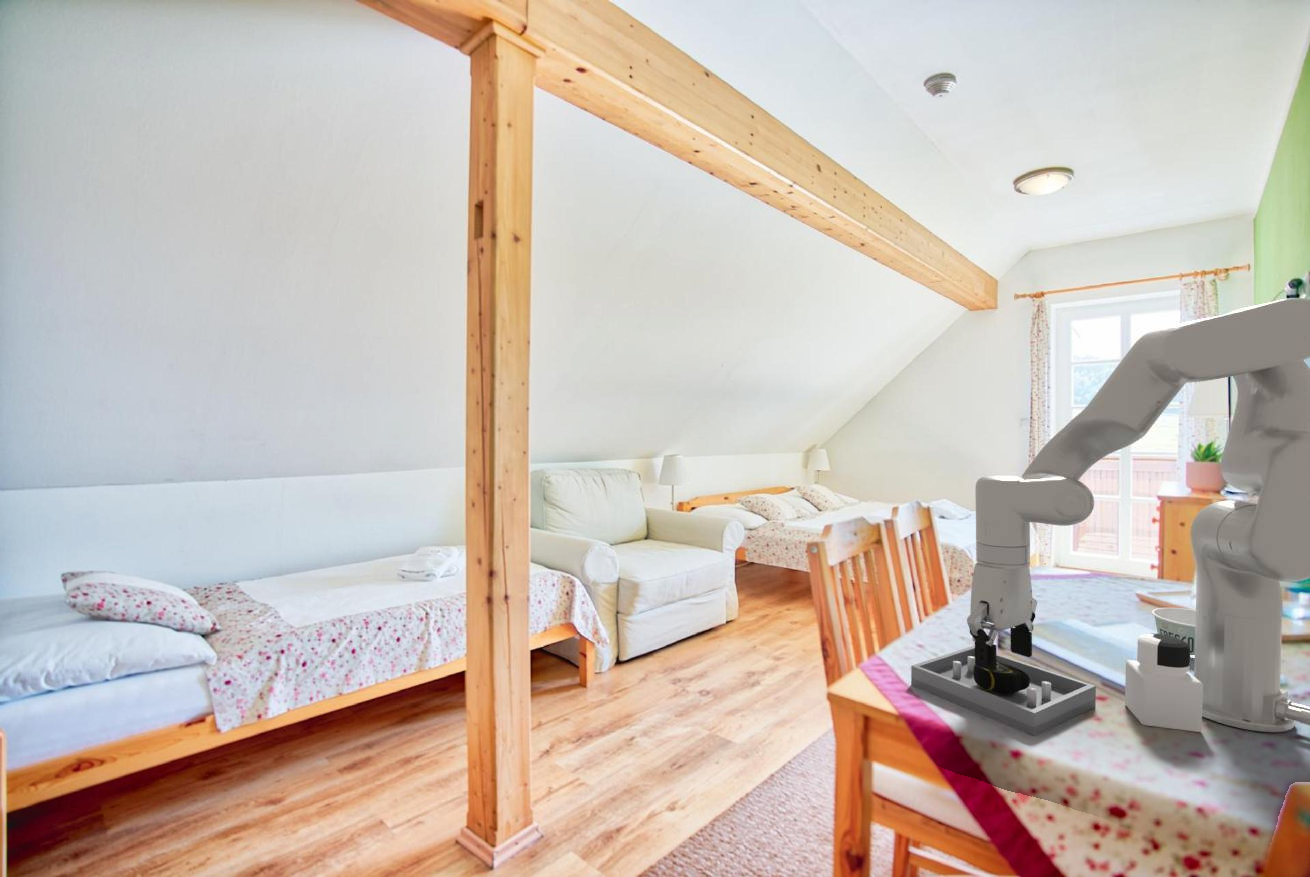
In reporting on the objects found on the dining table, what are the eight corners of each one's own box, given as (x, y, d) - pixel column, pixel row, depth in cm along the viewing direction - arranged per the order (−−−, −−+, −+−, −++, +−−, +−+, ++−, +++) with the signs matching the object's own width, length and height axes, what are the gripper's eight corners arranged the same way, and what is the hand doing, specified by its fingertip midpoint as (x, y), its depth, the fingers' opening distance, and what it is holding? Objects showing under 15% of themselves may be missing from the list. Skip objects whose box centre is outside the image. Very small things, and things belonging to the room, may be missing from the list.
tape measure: (1032, 695, 100) (1032, 671, 100) (998, 701, 98) (998, 677, 98) (996, 678, 107) (996, 655, 107) (963, 683, 104) (963, 661, 104)
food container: (1243, 654, 120) (1244, 619, 119) (1221, 669, 113) (1222, 632, 113) (1164, 636, 130) (1165, 603, 129) (1140, 648, 123) (1141, 614, 123)
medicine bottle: (1180, 711, 97) (1182, 632, 97) (1202, 733, 90) (1205, 649, 90) (1124, 704, 99) (1125, 627, 99) (1142, 725, 93) (1143, 643, 92)
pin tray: (1095, 706, 99) (1095, 682, 99) (1034, 735, 90) (1034, 709, 90) (972, 663, 116) (973, 643, 116) (911, 684, 107) (911, 662, 107)
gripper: (1010, 543, 110) (1011, 643, 110) (947, 557, 101) (948, 665, 101) (1056, 550, 103) (1057, 656, 104) (993, 566, 94) (995, 682, 95)
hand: (1003, 661), depth 103 cm, fingers open, 9 cm apart
